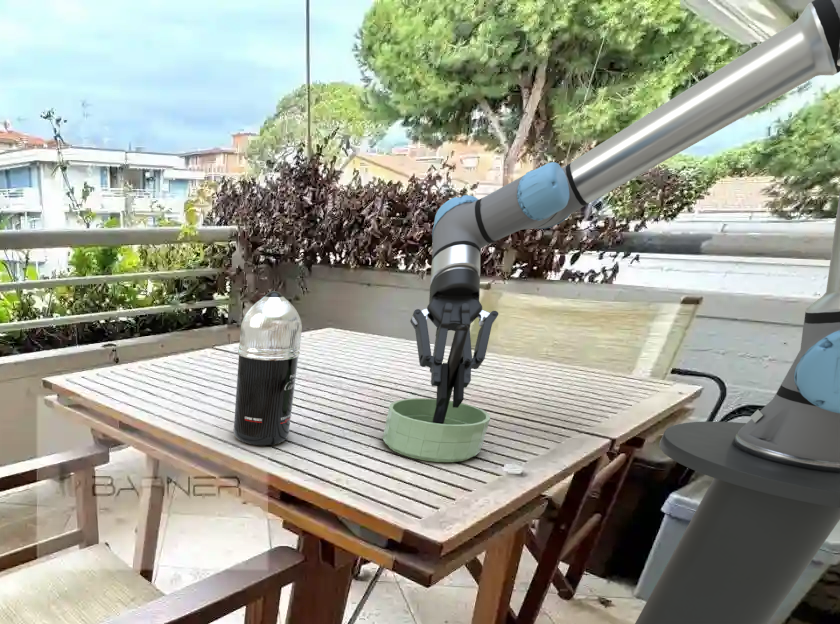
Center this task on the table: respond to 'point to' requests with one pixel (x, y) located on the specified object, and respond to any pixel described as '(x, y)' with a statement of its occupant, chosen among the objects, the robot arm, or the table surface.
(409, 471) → the table surface
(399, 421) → the bowl
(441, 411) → the grey disc on rod
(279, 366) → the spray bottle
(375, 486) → the table surface
